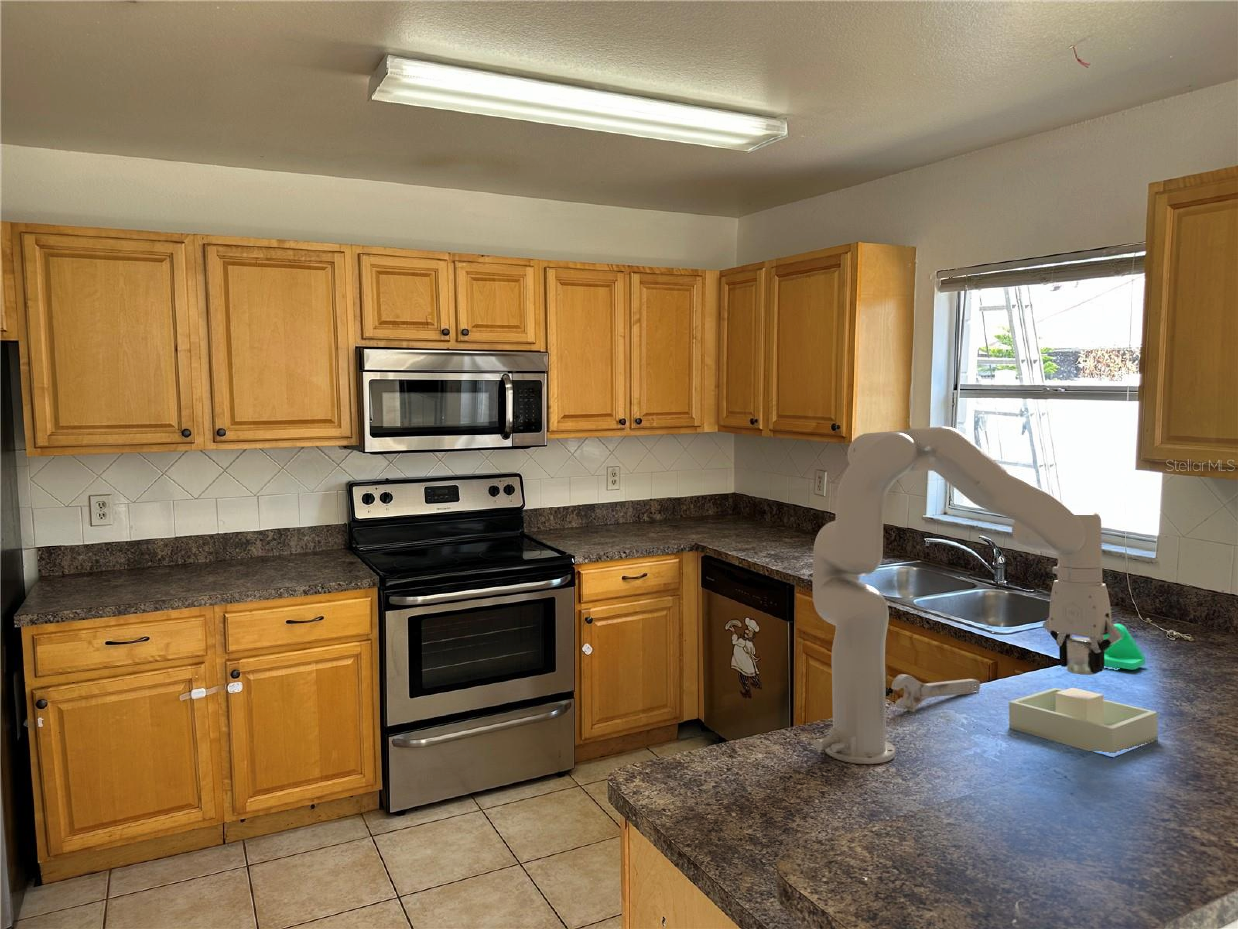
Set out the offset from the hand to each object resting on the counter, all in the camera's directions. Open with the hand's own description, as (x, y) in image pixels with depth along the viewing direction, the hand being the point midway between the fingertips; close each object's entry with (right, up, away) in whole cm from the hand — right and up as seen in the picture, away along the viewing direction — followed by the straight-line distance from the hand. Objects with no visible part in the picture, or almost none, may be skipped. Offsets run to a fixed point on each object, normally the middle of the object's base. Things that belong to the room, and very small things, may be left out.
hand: (1081, 667), depth 164 cm
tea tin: (0, -1, 0) cm, 1 cm away
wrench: (-20, -13, +22) cm, 32 cm away
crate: (0, -13, 0) cm, 13 cm away
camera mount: (+34, -12, +48) cm, 60 cm away
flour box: (0, -12, 0) cm, 12 cm away
